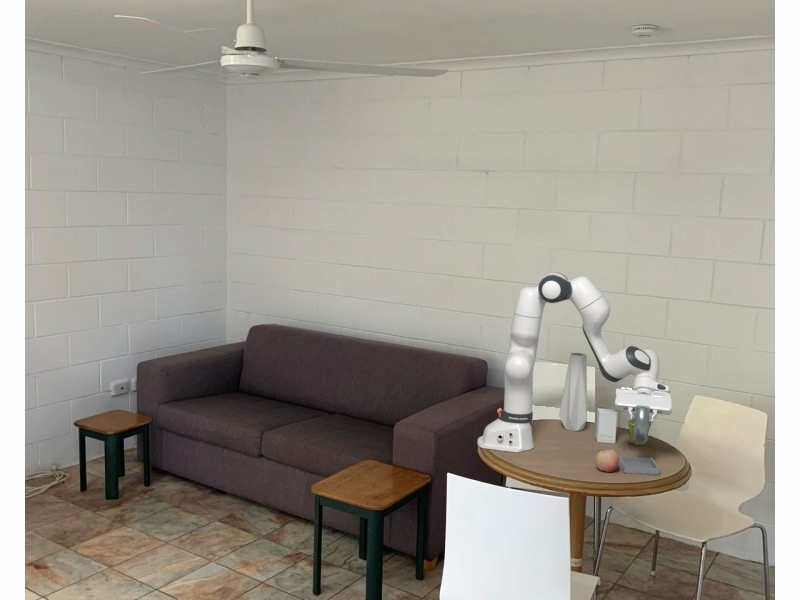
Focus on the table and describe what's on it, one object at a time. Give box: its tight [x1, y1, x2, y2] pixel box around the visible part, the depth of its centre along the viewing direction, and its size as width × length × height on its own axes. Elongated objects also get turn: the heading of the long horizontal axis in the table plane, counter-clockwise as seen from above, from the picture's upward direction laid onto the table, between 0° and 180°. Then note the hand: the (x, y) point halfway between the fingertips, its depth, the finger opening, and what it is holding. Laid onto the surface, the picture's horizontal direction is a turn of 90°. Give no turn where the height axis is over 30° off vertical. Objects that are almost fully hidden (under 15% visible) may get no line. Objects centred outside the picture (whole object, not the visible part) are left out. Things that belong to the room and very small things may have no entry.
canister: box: [634, 405, 651, 442], centre depth 276 cm, size 5×5×12 cm
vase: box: [558, 352, 588, 432], centre depth 326 cm, size 12×12×33 cm
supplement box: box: [595, 408, 618, 444], centre depth 312 cm, size 7×7×13 cm
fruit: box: [595, 449, 620, 473], centre depth 274 cm, size 8×8×8 cm
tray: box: [618, 455, 660, 476], centre depth 278 cm, size 12×12×2 cm
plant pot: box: [627, 419, 653, 446], centre depth 309 cm, size 9×9×9 cm
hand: (641, 421), depth 275 cm, fingers closed on canister, 5 cm apart
